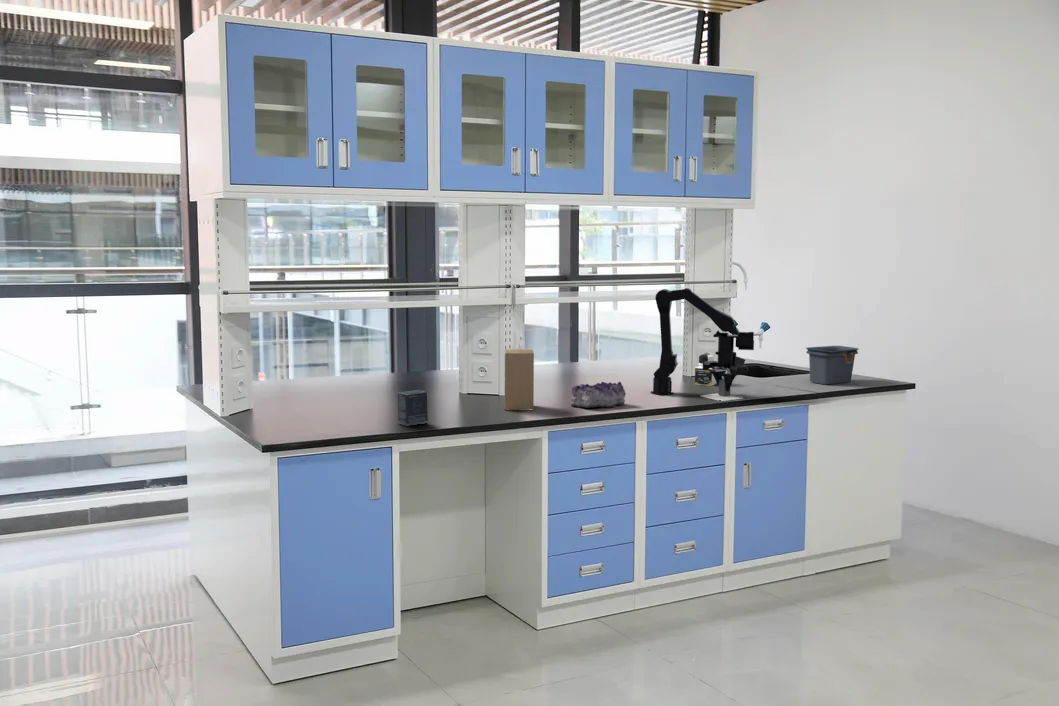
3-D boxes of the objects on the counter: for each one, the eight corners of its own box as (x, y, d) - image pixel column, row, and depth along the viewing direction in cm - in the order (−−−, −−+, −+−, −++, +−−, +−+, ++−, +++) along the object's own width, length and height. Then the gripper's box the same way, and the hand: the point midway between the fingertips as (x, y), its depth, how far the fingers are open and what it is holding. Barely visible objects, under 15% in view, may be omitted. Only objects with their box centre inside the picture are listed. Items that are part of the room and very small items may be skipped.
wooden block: (532, 405, 346) (533, 349, 343) (533, 410, 336) (533, 353, 333) (504, 405, 346) (504, 349, 343) (504, 410, 336) (504, 353, 333)
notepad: (722, 401, 355) (722, 399, 355) (700, 396, 365) (700, 395, 365) (744, 398, 361) (744, 397, 361) (721, 393, 371) (721, 392, 371)
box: (418, 421, 317) (418, 389, 315) (428, 424, 312) (427, 391, 311) (397, 424, 312) (397, 391, 310) (407, 427, 307) (406, 394, 306)
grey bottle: (724, 396, 363) (724, 377, 362) (718, 395, 366) (719, 376, 365) (730, 395, 365) (730, 376, 364) (724, 394, 367) (725, 375, 366)
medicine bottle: (694, 384, 392) (695, 355, 391) (699, 382, 398) (700, 353, 397) (711, 386, 389) (712, 356, 387) (716, 383, 395) (717, 354, 394)
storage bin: (833, 377, 412) (835, 344, 410) (865, 382, 399) (866, 348, 398) (800, 382, 400) (802, 347, 398) (832, 387, 387) (833, 352, 385)
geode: (614, 401, 355) (617, 375, 353) (630, 411, 345) (634, 384, 343) (565, 403, 346) (568, 376, 344) (580, 413, 336) (584, 385, 334)
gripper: (759, 350, 360) (758, 392, 362) (723, 345, 375) (722, 385, 377) (737, 352, 354) (736, 395, 356) (702, 347, 369) (701, 387, 371)
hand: (724, 390), depth 365 cm, fingers closed on grey bottle, 3 cm apart
